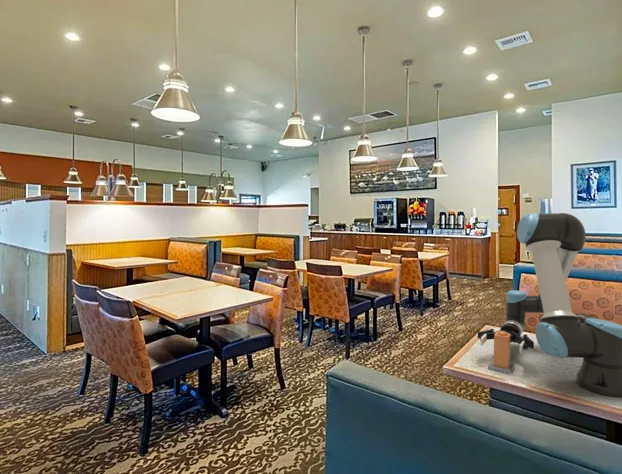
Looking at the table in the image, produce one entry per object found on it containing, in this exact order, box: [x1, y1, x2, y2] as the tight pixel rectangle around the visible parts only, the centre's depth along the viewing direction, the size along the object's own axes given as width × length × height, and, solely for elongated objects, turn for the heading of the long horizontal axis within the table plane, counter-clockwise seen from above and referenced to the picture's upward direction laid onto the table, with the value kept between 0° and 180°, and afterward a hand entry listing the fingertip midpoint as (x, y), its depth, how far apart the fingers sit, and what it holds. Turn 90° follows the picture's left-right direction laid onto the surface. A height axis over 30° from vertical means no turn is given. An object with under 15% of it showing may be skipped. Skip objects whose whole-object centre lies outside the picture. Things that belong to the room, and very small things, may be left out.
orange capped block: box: [493, 330, 511, 368], centre depth 147 cm, size 5×5×13 cm
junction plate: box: [487, 358, 516, 375], centre depth 148 cm, size 8×8×7 cm
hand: (500, 345), depth 145 cm, fingers open, 13 cm apart
